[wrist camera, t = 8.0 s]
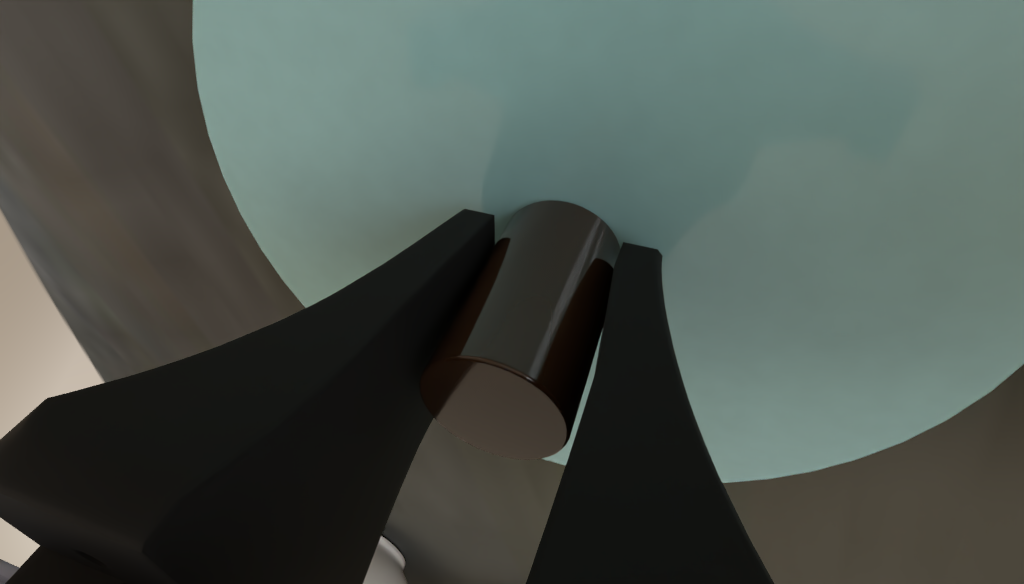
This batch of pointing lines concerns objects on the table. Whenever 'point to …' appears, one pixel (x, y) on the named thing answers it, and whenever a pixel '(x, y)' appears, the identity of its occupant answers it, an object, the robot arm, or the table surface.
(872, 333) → the pan lid
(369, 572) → the lidded bowl
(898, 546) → the table surface
